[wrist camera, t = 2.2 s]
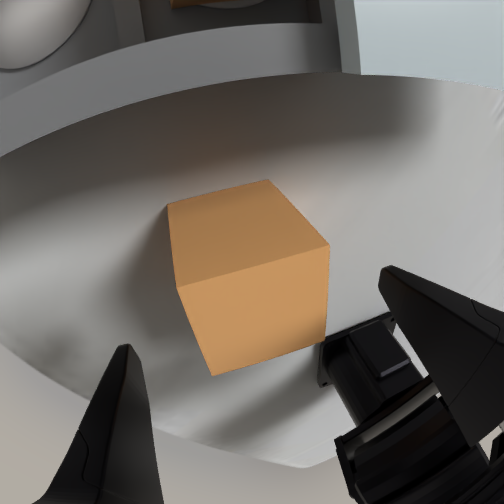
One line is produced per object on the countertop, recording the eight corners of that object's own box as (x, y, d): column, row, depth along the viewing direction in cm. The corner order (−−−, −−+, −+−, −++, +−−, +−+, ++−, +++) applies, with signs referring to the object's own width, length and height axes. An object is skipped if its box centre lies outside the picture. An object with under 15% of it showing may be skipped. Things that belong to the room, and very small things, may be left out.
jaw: (276, 260, 16) (324, 340, 11) (191, 283, 15) (212, 376, 10) (268, 178, 13) (329, 244, 9) (167, 203, 12) (176, 287, 8)
